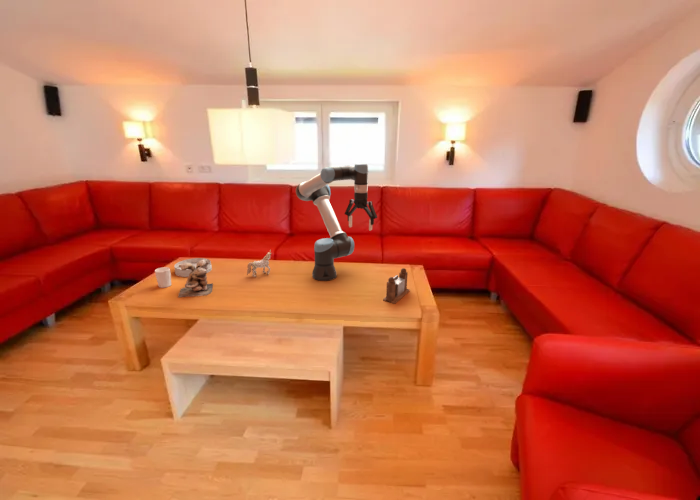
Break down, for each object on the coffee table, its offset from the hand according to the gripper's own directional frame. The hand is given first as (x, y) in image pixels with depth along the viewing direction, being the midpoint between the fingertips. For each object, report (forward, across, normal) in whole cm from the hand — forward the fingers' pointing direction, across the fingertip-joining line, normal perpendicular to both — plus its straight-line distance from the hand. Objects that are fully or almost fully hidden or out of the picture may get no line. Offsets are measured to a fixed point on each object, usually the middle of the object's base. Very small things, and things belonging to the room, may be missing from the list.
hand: (360, 228), depth 208 cm
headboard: (+33, +28, -7) cm, 44 cm away
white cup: (+33, -92, -68) cm, 119 cm away
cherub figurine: (+33, -71, -62) cm, 100 cm away
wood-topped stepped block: (+32, +28, -7) cm, 43 cm away
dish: (+33, -99, -44) cm, 113 cm away
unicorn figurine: (+33, -59, -24) cm, 72 cm away
